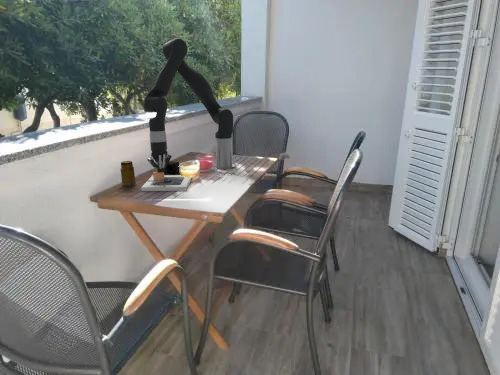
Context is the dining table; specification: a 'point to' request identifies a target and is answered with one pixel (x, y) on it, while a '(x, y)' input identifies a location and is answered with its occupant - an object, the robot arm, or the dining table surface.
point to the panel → (151, 187)
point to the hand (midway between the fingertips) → (161, 175)
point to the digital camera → (172, 168)
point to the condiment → (127, 173)
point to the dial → (164, 179)
